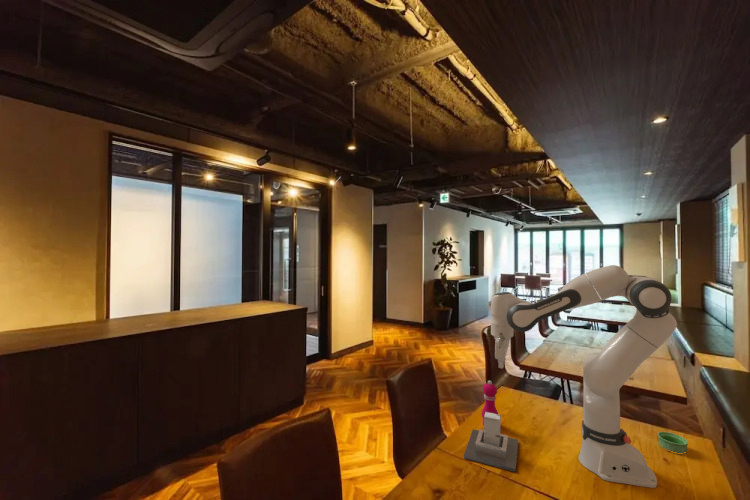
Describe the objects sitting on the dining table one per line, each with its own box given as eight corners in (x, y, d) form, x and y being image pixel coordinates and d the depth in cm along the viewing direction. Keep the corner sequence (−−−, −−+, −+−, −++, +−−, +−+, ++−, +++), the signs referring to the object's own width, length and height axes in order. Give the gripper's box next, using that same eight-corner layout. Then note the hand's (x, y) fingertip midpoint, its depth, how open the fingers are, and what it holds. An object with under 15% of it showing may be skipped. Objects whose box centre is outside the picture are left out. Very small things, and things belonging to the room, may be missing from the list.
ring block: (518, 442, 134) (518, 432, 134) (515, 472, 116) (515, 460, 116) (472, 431, 142) (472, 422, 142) (463, 458, 124) (463, 447, 124)
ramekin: (695, 455, 125) (695, 444, 125) (671, 456, 125) (671, 444, 125) (673, 442, 134) (673, 431, 134) (651, 442, 134) (651, 431, 134)
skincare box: (483, 447, 129) (483, 416, 129) (484, 441, 133) (484, 411, 133) (500, 451, 126) (500, 419, 126) (500, 444, 130) (500, 414, 130)
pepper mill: (496, 421, 150) (496, 377, 150) (500, 429, 143) (500, 384, 143) (480, 420, 151) (479, 377, 151) (483, 429, 144) (483, 383, 144)
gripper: (508, 337, 126) (508, 373, 126) (511, 326, 144) (511, 358, 144) (491, 336, 129) (491, 371, 129) (496, 325, 147) (496, 356, 147)
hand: (502, 364), depth 137 cm, fingers open, 8 cm apart
